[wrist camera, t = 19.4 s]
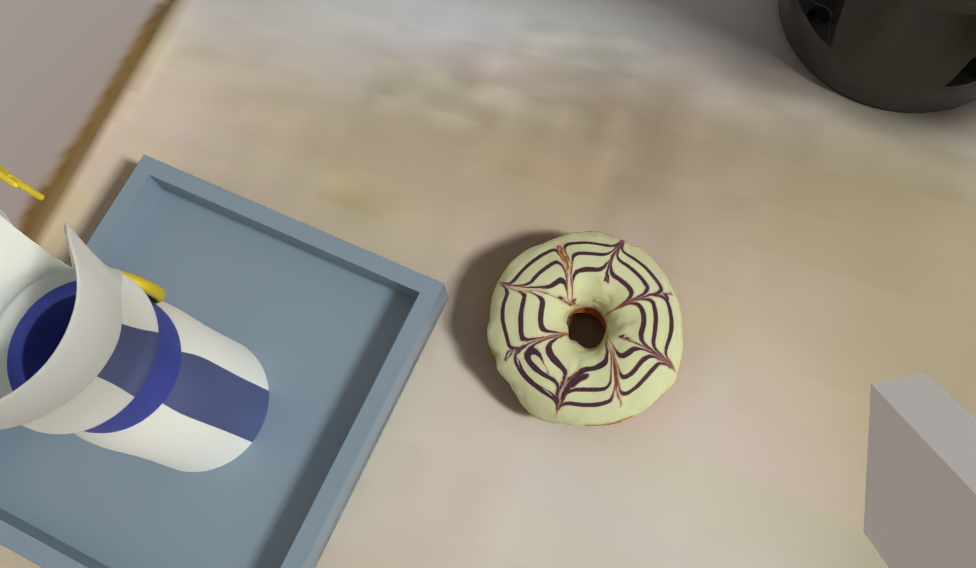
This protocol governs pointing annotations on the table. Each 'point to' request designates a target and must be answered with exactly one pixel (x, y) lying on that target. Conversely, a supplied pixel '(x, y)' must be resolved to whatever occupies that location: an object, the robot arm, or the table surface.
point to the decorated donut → (564, 362)
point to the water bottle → (118, 360)
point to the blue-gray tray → (290, 375)
